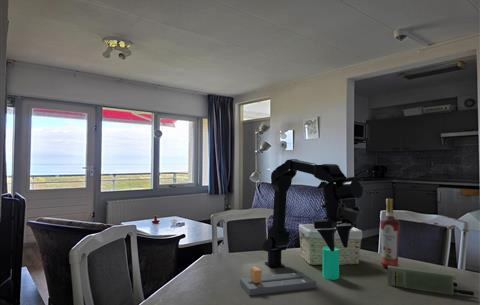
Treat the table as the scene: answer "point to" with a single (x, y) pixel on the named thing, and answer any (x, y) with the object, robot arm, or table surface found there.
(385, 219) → the liquor
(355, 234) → the storage basket
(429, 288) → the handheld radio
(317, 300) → the table surface
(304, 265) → the table surface
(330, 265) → the candle
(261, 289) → the fader panel
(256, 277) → the fader knob
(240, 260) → the table surface
